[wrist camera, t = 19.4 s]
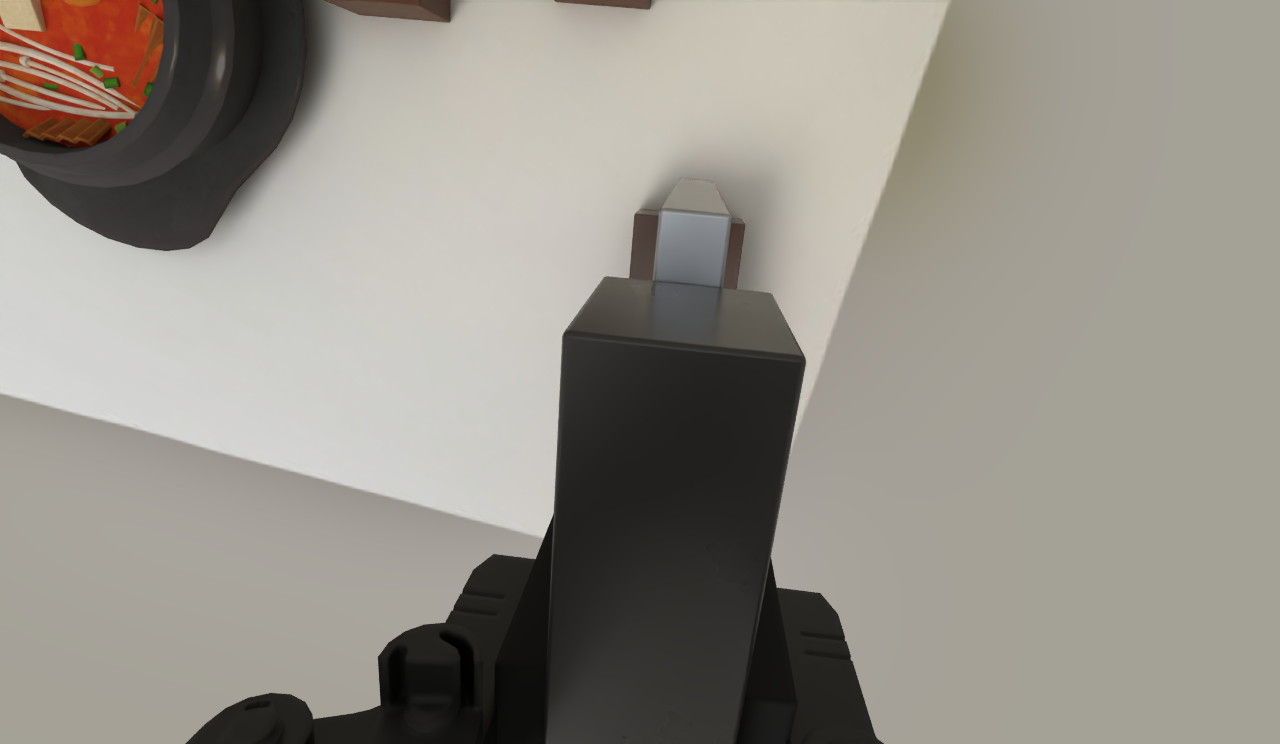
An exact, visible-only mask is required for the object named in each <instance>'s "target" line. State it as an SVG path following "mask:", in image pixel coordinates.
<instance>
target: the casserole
mask: <svg viewBox="0 0 1280 744" xmlns="http://www.w3.org/2000/svg"><path fill="white" fill-rule="evenodd" d="M305 57H306V39H305V25H304V10H303V6H302V2H301V0H0V153H1V154H3V155H6V156H7V157H9V158H10V159H12V160H14V161H16V162H17V164H18V166H19V168H20V170H21V172H22V173H23V175H24V177H25V178H26V179H27V180H28V181H29V183H30V184H31V185H32V186H34V187H35V188H36V189H37V190H38V191H39V192H40V193H41V194H42V195H43V196H44V197H45V198H46V199H47V200H48V201H49V202H50V203H51V204H52V205H53V206H55V207H56V208H58V209H59V210H60V211H62V212H63V213H65V214H66V215H67V216H69V217H70V218H72V219H73V220H74V221H76V222H77V223H79V224H81V225H83V226H85V227H87V228H89V229H91V230H93V231H95V232H96V233H98V234H100V235H102V236H104V237H106V238H109V239H112V240H115V241H118V242H122V243H125V244H128V245H131V246H135V247H138V248H146V249H155V250H163V251H170V250H179V249H188V248H191V247H193V246H195V245H196V244H198V243H200V242H202V241H203V240H205V239H207V238H209V236H210V234H211V233H212V231H213V229H214V228H215V226H216V224H217V223H218V221H219V219H220V218H221V216H222V214H223V212H224V211H225V209H226V207H227V206H228V204H229V202H230V201H231V199H232V197H233V195H234V194H235V192H236V190H237V189H238V188H239V187H240V186H241V185H242V184H243V183H244V182H245V181H246V180H247V179H248V178H249V177H250V175H251V174H252V173H253V172H254V171H255V170H256V169H257V168H258V167H259V166H260V165H261V164H262V163H263V162H264V161H265V159H266V158H267V157H268V156H269V155H270V154H271V153H272V152H273V151H274V150H275V149H276V148H277V146H278V144H279V142H280V141H281V139H282V137H283V135H284V133H285V132H286V130H287V128H288V126H289V125H290V123H291V121H292V119H293V116H294V112H295V109H296V106H297V103H298V99H299V96H300V93H301V90H302V86H303V76H304V67H305Z"/></svg>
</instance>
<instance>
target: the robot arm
mask: <svg viewBox="0 0 1280 744" xmlns="http://www.w3.org/2000/svg"><path fill="white" fill-rule="evenodd" d="M553 521H554V514H553V517H552V519H551V522H550V524H549V527H548V530H547V532H546V535H545V537H544V540H543V542H542V545H541V547H540V550H539V552H538V555H537V557H536V559H528V558H521V557H513V556H504V555H497V554H493V555H492V556H491V557H489V558H488V559H487V560H485V561H484V562H483V563H482V564H480V565H479V566H478V567H476V568H475V569H474V570H473V572H472V574H471V575H470V578H469V579H468V581H467V583H466V585H465V587H464V588H463V592H462V594H460V596H459V598H458V600H457V602H456V603H455V605H454V609H453V611H451V613H450V615H449V617H448V619H447V620H446V622H445V623H438V624H426V625H422V626H419V627H416V628H413V629H411V630H408V631H405V632H404V633H402V634H401V635H399V636H398V637H396V638H395V639H393V640H392V641H390V642H389V643H388V644H387V646H386V647H385V648H384V650H383V651H382V652H381V654H380V655H379V656H378V666H379V683H380V699H381V705H380V706H377V707H375V708H373V709H370V710H366V711H362V712H358V713H354V714H347V715H339V716H332V717H326V718H319V719H313V717H312V713H311V711H310V710H309V708H308V706H307V704H306V703H305V702H304V701H302V700H300V699H298V698H297V697H295V696H292V695H290V694H277V693H269V694H264V695H260V696H255V697H250V698H247V699H245V700H243V701H241V702H238V703H236V704H234V705H232V706H230V707H227V708H225V709H224V710H223V711H222V712H220V713H219V714H218V715H216V716H215V717H214V718H212V719H211V720H210V721H209V722H207V723H206V724H205V725H204V726H203V727H202V728H201V729H200V730H199V731H198V732H197V733H196V734H195V735H194V736H193V737H192V738H191V739H190V740H189V741H188V742H187V743H186V744H543V728H544V707H545V686H546V666H547V645H548V625H549V604H550V583H551V563H552V542H553ZM850 657H851V655H850V652H849V649H848V645H847V642H846V641H845V636H844V633H843V629H842V626H841V623H840V619H839V616H838V614H837V613H836V611H835V610H834V609H833V608H832V607H831V605H830V604H829V603H828V602H827V601H826V599H825V598H824V597H823V596H822V595H821V594H820V593H814V592H807V591H799V590H791V589H783V588H776V582H775V577H774V571H773V566H772V560H771V557H770V563H769V568H768V574H767V579H766V585H765V590H764V596H763V601H762V607H761V612H760V618H759V623H758V628H757V634H756V639H755V645H754V650H753V656H752V661H751V667H750V672H749V678H748V683H747V689H746V694H745V700H744V705H743V711H742V716H741V721H740V727H739V732H738V738H737V743H736V744H884V743H882V742H881V741H879V740H878V739H877V738H876V736H875V733H874V730H873V727H872V724H871V720H870V717H869V714H868V711H867V707H866V704H865V701H864V698H863V694H862V691H861V688H860V685H859V681H858V678H857V675H856V671H855V669H854V665H853V662H852V661H851V659H850Z"/></svg>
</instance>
